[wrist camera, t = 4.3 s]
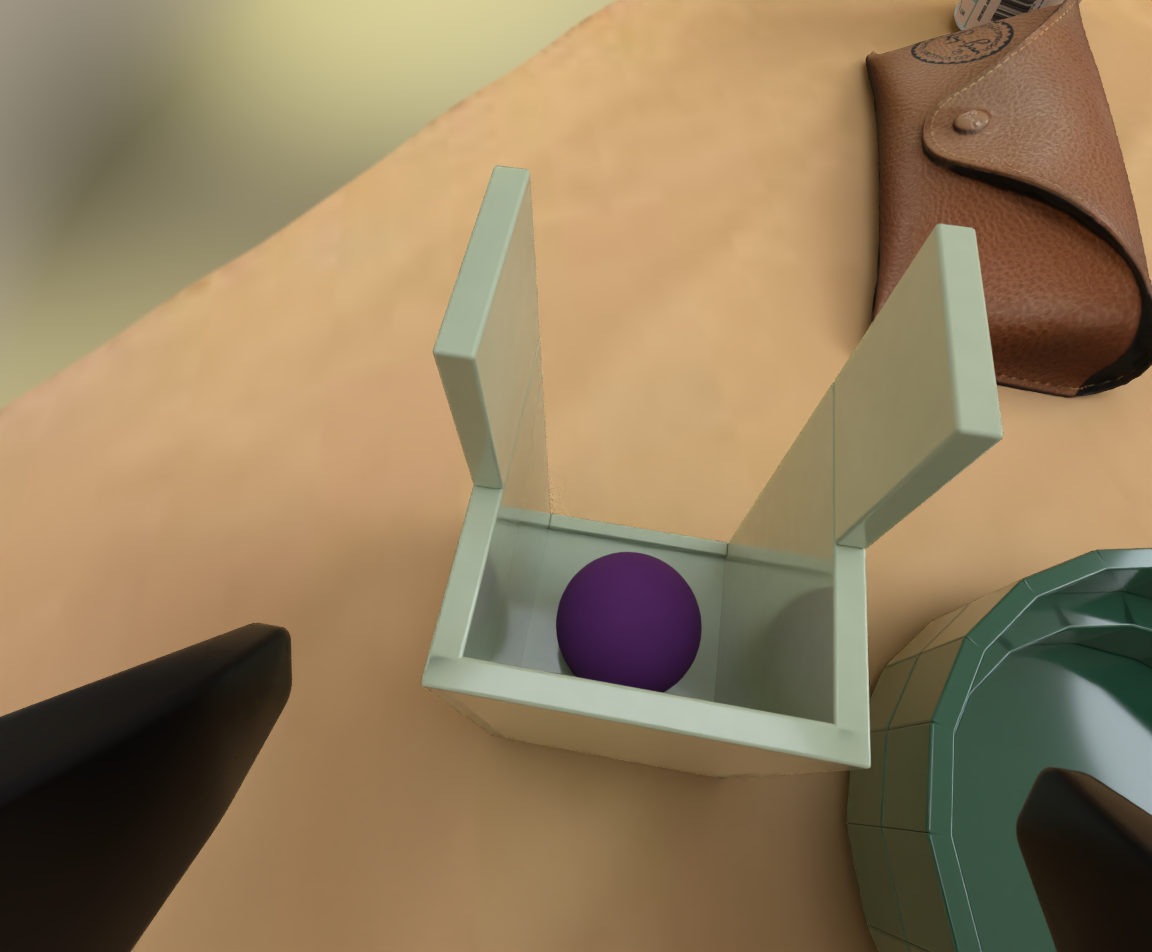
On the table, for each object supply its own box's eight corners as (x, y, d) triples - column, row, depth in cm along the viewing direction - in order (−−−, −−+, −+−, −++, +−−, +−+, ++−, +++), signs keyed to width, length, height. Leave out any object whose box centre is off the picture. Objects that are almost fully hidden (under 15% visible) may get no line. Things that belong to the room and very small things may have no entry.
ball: (613, 751, 16) (630, 702, 13) (527, 640, 18) (525, 577, 15) (714, 664, 17) (749, 604, 15) (626, 571, 19) (642, 500, 16)
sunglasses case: (855, 43, 30) (1009, -105, 24) (948, 131, 32) (1103, 16, 27) (865, 358, 22) (1094, 243, 16) (986, 437, 25) (1214, 362, 19)
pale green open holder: (723, 779, 17) (1052, 757, 5) (489, 734, 17) (336, 627, 6) (738, 554, 19) (977, 225, 8) (535, 520, 20) (493, 162, 8)
